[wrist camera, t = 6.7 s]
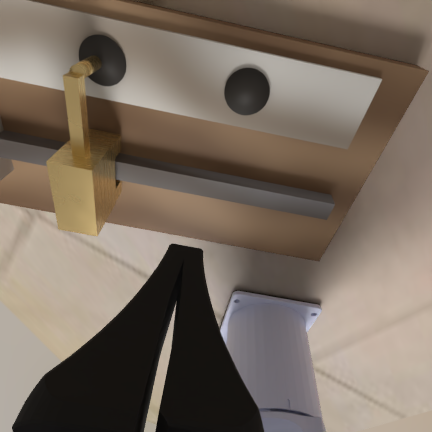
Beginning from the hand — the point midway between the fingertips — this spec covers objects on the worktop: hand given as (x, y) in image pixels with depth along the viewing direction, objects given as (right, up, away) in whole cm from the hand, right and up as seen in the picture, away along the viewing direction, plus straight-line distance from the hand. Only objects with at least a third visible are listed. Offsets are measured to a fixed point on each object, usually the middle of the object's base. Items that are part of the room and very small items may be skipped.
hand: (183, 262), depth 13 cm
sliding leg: (-5, +7, +4) cm, 9 cm away
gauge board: (-2, +7, +5) cm, 9 cm away
